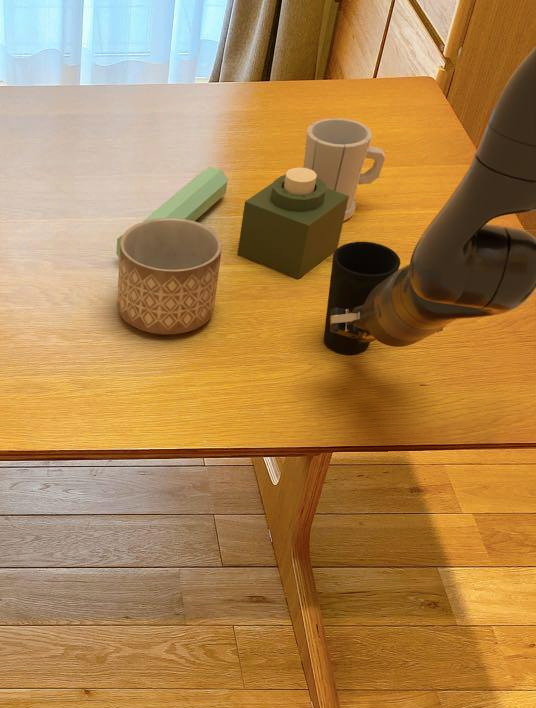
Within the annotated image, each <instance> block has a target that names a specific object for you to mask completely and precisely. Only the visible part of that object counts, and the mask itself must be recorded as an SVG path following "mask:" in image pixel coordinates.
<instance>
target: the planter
mask: <svg viewBox="0 0 536 708" xmlns="http://www.w3.org/2000/svg"><path fill="white" fill-rule="evenodd" d="M143 221H144V220H143ZM143 221H141V222H138V223H136V224H134V225H133V226H131V227H129V228H128V229H127V230H125V232H124V233H122V235H123V236H122V235H121V236H122V238H121V240H120V257H118V259H119V260H118V261H119V262H118V281H117V304H116V307H117V311H118V313H119V315H120V316H121V318H122V319H123V320H124V321H125V322H126V323H127V324H129V325H130V326H132V327H133V328H135V329H137V330H140V331H143V332H148V333H151V334H156V335H157V334H158V335H179V334H184V333H188V332H191V331H194V330H197V329H199V328H201V327H202V326H204V325H205V324H206V323H207V322H209V320H210V319H211V317H212V315H213V314H214V310H215V305H216V304H215V303H216V295H217V290H218V289H217V288H218V282H219V272H220V264H221V256H222V249H223V242H222V239H221V238H220V236H219V235H218V233H217V232H216V231H214V230H213V229H212V228H211V227H209V226H207V225H205V224H203V223H200V222H197V221H196V220H195V221H191V220H187V219H180V218H158V219H152V220H147V221H144V222H143Z"/></svg>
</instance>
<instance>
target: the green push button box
mask: <svg viewBox="0 0 536 708" xmlns="http://www.w3.org/2000/svg"><path fill="white" fill-rule="evenodd" d="M285 176H286V173H285V174H283V175H280V176H278V178H276V179H275V180H273V182H271V183H270V184H269V185H267V186H266V187H264V188H263V189H261V190H260V191H258V192H257V193H255V194H253V195H252V196H250V197H249V198H248V199H246V200H245V201H244V204H243V205H244V206H243V212H242V220H241V226H240V234H239V241H238V248H237V256H239V257H242V258H244V259H247V260H250V261H252V262H255V263H257V264H259V265H262V266H263V267H266V268H269V269H271V270H274V271H276V272H278V273H282V274H283V275H286V276H288V277H291V278H293V279H296V280H300V279H301V278H302V277H304V276H305V275H306V274H307V273H309V272H310V271H312V270H313V269H314V268H315V267H317V266H318V265H319V264H321V263H322V262H323V261H324V260H326V259H327V258H329V256H331V255H332V254H334V252H335V251H336V250H337V249H338V248H339V243H340V239H341V233H342V229H343V226H344V225H343V224H344V222H345V221H344V216H345V212H346V207H347V203H348V198H349V196H347V195H344V194H341V193H339V192H336V191H333V190H330V189H327V188H326V185H325V184H324V183H323V182H322V181H321V180H320V179H318V178H316V182H315V187H314V191H313V193H311V194H306V195H295V194H291V193H289V192H286V191H285V190H284V182H285Z"/></svg>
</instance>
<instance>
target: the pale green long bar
mask: <svg viewBox="0 0 536 708" xmlns="http://www.w3.org/2000/svg"><path fill="white" fill-rule="evenodd" d="M228 181H229V178H228V177H227V175H226V173H224V171H223V169H219V168H215V167H207V168H206V169H205V170H203V171H202V172H200V173H198V175H196V176H195V177H194V178H192V180H191V181H189V182H188V183H187V184H185V186H183V187H182V188H181V189H180V190H179V191H177V192H176V193H175V194H174V195H172V197H170V198H169V199H167V201H165V202H164V203H163V204H162V205H161V206H159V207H158V208H157V209H156V210H154V211H153V212H152V213H151V214H150V215H149V216H148V217H147V218H145V219H143V221H142V222H144V221H147V220H152V219H158V218H180V219H187V220H191V221H195V222H196V220H198V219H199V218H200V217H201V216H202V215H203V214H205V213H206V211H208V210H209V209H210V208H211V207H212V206H214V204H216V203H217V202H218V201H220V199H221V198H223V196H225V195H226V194H227V188H228ZM122 236H123V234H122V235H120V236H119V237H118V238H116V252H115V253H116V255H117V257H118V258H119V257H120V240H121V238H122Z"/></svg>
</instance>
